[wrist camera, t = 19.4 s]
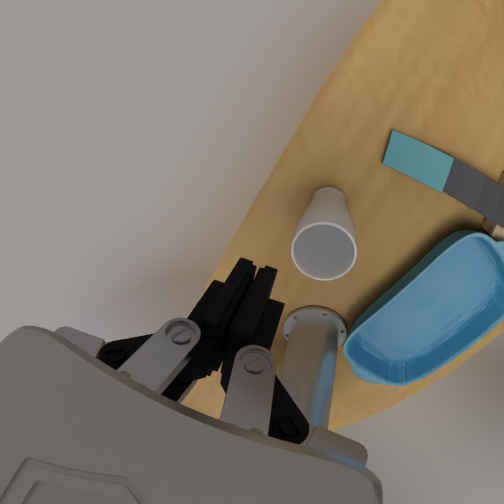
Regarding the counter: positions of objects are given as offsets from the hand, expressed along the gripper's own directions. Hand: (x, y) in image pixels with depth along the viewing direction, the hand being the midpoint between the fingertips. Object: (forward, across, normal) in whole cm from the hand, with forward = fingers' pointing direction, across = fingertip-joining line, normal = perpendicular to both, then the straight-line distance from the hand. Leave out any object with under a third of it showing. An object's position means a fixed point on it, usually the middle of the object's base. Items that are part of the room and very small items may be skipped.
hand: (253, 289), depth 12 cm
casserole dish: (+30, -28, +16) cm, 44 cm away
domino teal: (+28, -10, -6) cm, 31 cm away
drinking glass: (+29, -4, +5) cm, 30 cm away
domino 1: (+28, -16, -6) cm, 33 cm away
